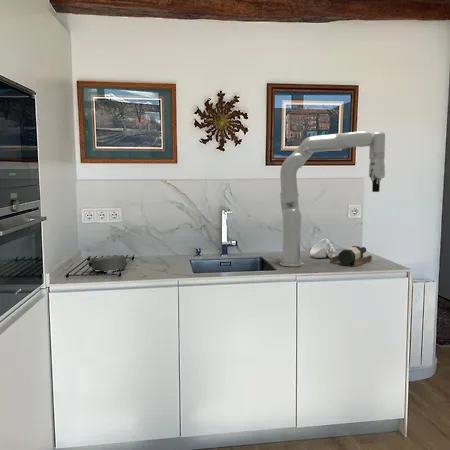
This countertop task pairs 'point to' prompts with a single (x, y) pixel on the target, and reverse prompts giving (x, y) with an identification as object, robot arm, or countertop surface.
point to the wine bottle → (351, 255)
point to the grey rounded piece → (108, 263)
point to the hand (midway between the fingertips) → (375, 191)
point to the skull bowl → (323, 249)
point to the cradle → (356, 263)
